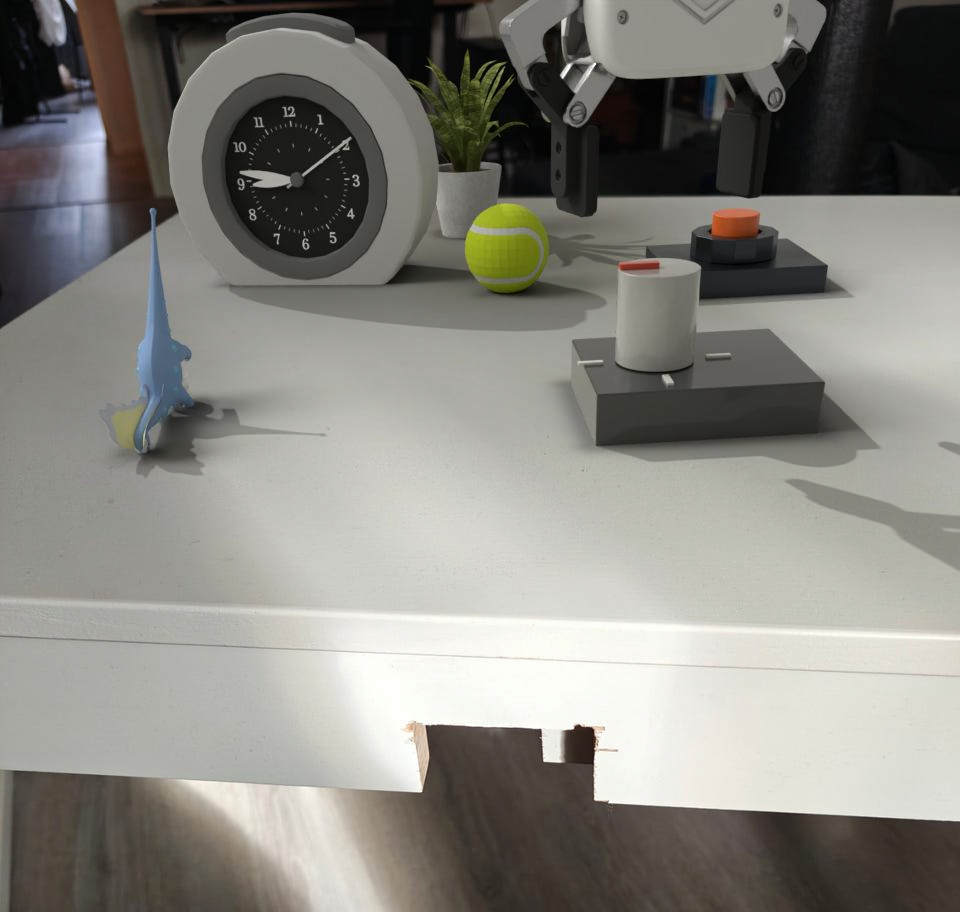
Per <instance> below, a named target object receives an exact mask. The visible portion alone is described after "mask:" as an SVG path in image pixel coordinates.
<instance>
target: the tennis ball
mask: <svg viewBox="0 0 960 912" xmlns="http://www.w3.org/2000/svg"><path fill="white" fill-rule="evenodd" d="M547 233H548V232H547V231H546V229H545V226H544V225H543V222H542V221H541V219H540V218H539V217H538V215H536V214H535V213H533V211H532V210H530V209H528V208H527V207H525V206H523V205H519V204H515V203H497V205H495V206H492V207H490V208H488V209H486V210H485V211H483V212H482V213H481V214H480V215H479V216H477V217H476V219H475V220H474V222H473V224H472V226H471V228H470V229H469V231H468V233H467V237H466V238H465V242H464V256H465V261H466V263H467V266H468V269H469V271H470V273H471V274H472V275H473V277H474V278H475V280H476V281H477V283H479V284H480V285H481V286H483V287H484V288H486V289H488V290H490V291H492V292H495V293H500V294H513V293H517V292H521V291H523V290H525V289H527V288H529V287H530V286H532V285H533V284H534V283H535V282H536V281H537V280H538V279H539V278H540V276H541V275H542V273H543V271H544V270H545V267H546V266H547V262H548V258H549V253H550V251H549V250H550V245H549V237H548V234H547Z"/></svg>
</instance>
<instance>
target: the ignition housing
mask: <svg viewBox="0 0 960 912" xmlns="http://www.w3.org/2000/svg"><path fill="white" fill-rule="evenodd" d="M711 232H712V223H711V224H706V225H701V226H698V227H696V228H694V229H693V230H692V231H691V236H690V243H673V244H654V245H652V244H651V245H646V246H645V259H649V258H673V259H682V260H687V261H691V262H694V263H697V264H699V265H700V266H701V281H700V294H699V300H712V299H713V300H716V299H733V298H750V297H767V296H768V297H769V296H788V295H806V294H807V295H808V294H820V293H821V294H822V293H825V291H826V283H827V277H828V269H829V264H827V263H825V262H824V261H822V260H821V259H820V258H818V257H816V256H815V255H813V254H812V253H810V252H809V251H807V250H806V249H804V248H802V247H801V246H799V245H798V244H797V243H795V242H794V241H792V240H791V239H789V238H787V237H785V238H779V233H780V231H779V230H778V229H776V228H774V227H773V226H769V225H764V224H759V230H758V235H753V236H745V237H726V236H718V235H713V234H711Z"/></svg>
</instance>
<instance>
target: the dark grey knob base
mask: <svg viewBox="0 0 960 912" xmlns="http://www.w3.org/2000/svg"><path fill="white" fill-rule="evenodd" d="M615 339H616V336H607V337H594V338H593V337H589V338H574V339H572V340H571V362H570V363H571V366H570V367H571V368H570V369H571V372H570V373H571V374H570V375H571V376H570V378H571V379H570V386H571V389H572V391H573V393H574V396H575V398H576V401H577V404H578V406H579V408H580V411H581V413H582V416H583V418H584V421H585V423H586V425H587V428H588V431H589V433H590V436H591V438H592V441H593V444H594V445H595V447H603V446H604V447H605V446H606V447H607V446H623V445H639V444H656V443H657V444H658V443H659V444H660V443H677V442H689V441H690V442H692V441H710V440H725V439H729V440H730V439H744V438H760V437H761V438H763V437H778V436H779V437H780V436H798V435H811V434H812V435H813V434H818V433H819V427H820V421H821V420H820V419H821V414H822V407H823V400H824V394H825V386H826V381H825V380H824V379H823V378H822V377H820V375H819V374H817V373H816V372H815V371H814V370H813V368H811V367H810V366H809V365H808V364H807V363H806V362H805V361H804V360H803V359H802V358H801V357H800V356H799V355H797V353H796V352H795V351H793V350H792V349H791V348H790V347H789V346H788V345H787V344H786V343H785V342H784V341H783V340H782V339H780V337H779V336H777V334H776V333H775V332H774V331H772V330H771V329H770V328H755V329H752V328H751V329H735V330H718V331H701V332H700V331H697V333H696V346H695V359H694V362H693V363H692V364H691V365H690V366H688V367H685V368H682V369H679V370H674V371H666V372H644V371H637V370H632V369H628V368H625V367H622V366H620V365H619V364H617V363H616V361H615Z"/></svg>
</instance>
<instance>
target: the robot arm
mask: <svg viewBox="0 0 960 912" xmlns="http://www.w3.org/2000/svg"><path fill="white" fill-rule="evenodd" d="M826 19H827V8H826V7H825V5H823V4H822V3H821V2H820V1H818V0H527V1H525V2H524V3H523V4H521V5H520V6H519V7H517V8H516V9H515V10H513V11H511V12H510V13H508V14H507V15H506V16H505V17H503V18H502V20H501V21H500V22H499V25H498V33H499V36H500V39H501V42H502V43H503V46H504V48H505V50H506V54H507V55H508V58H509V60H510V62H511V65H512V67H513V68H514V69H515V71H516V73H517V75H516V76H517V77H516V78H517V82H518V84H519V86H520V88H521V89H522V90H523V91H524V92H525V94H526V95H527V96H528V97H529V98H530V100H532V102H533V103H534V104H535V105H536V106H537V108H538V109H539V110H540V113H541V116H542V118H543V120H544V121H545V122H547V123H551V125H550V127H551V129H550V131H551V132H550V133H551V134H550V135H551V137H550V139H551V140H550V187H551V192H552V194H553V196H554V197H555V204H556V208H557V209H558V211H561V212H564V213H567V214H571V215H573V216H577V217H579V218H588V217H589V218H590V217H593V216H594V215H595V213H597V211H598V195H599V194H598V192H599V163H600V162H599V161H600V131H599V129H598V126H596V125H591V124H590V117H591V116H592V115H593V113H594V112H595V110H596V108H597V106H598V105H599V104H600V102H601V101H602V99H603V98H604V96H605V94H607V92H608V90H609V89H610V87H611V86H612V84H613V83H614V81H615V79H616V78H617V77H618V78H621V79H622V78H623V79H630V80H632V79H633V80H645V79H646V80H647V79H664V78H665V79H666V78H667V79H668V78H681V77H697V76H712V75H713V76H714V75H718V76H719V78H720V80H721V81H722V83H723V85H724V87H725V89H726V91H727V92H728V94H729V95H730V97H731V100H732V102H733V107H728V108H727V107H726V108H725V107H724V111H723V114H722V116H721V124H720V125H721V127H720V138H719V146H718V147H719V148H718V158H717V171H716V179H715V180H716V181H715V182H716V183H715V186H716V189H717V191H719V192H720V193H722V194H727V195H731V196H734V197H739V198H743V199H758V198H759V197H760V196H761V195H762V192H763V181H764V174H765V171H766V167H767V159H768V152H769V151H768V150H769V140H770V133H771V124H772V114H773V112H774V113H775V112H778V111H779V110H780V109H781V108H782V107H783V106H784V104H785V101H786V93H787V92H788V91H789V89H790V88H791V87H792V86H793V84H794V83H795V82H796V80H797V79H798V78H799V77H800V75H801V74H802V73H803V72H804V71H805V69H806V66H807V64H808V53H810V52H811V51H812V49H813V46H814V45H815V42H816V41H817V38H818V36H819V34H820V32H821V30H822V28H823V25H824V24H825V22H826ZM559 23H560V26H561V49H562V56H563V59H564V61H565V63H566V65H565V67H564V68H563V70H562V71H561V73H560V74H559V72H558V71H557V70H556V69H555V67H554V66H553V65H551V64H550V63H549V61H548V58H547V56H546V54H547V52H546V50H545V48H544V44H543V43H544V36H545V34H546V33H547V32H548V31H549V30H550V29H552V28H553V27H555V26H557V24H559Z"/></svg>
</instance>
